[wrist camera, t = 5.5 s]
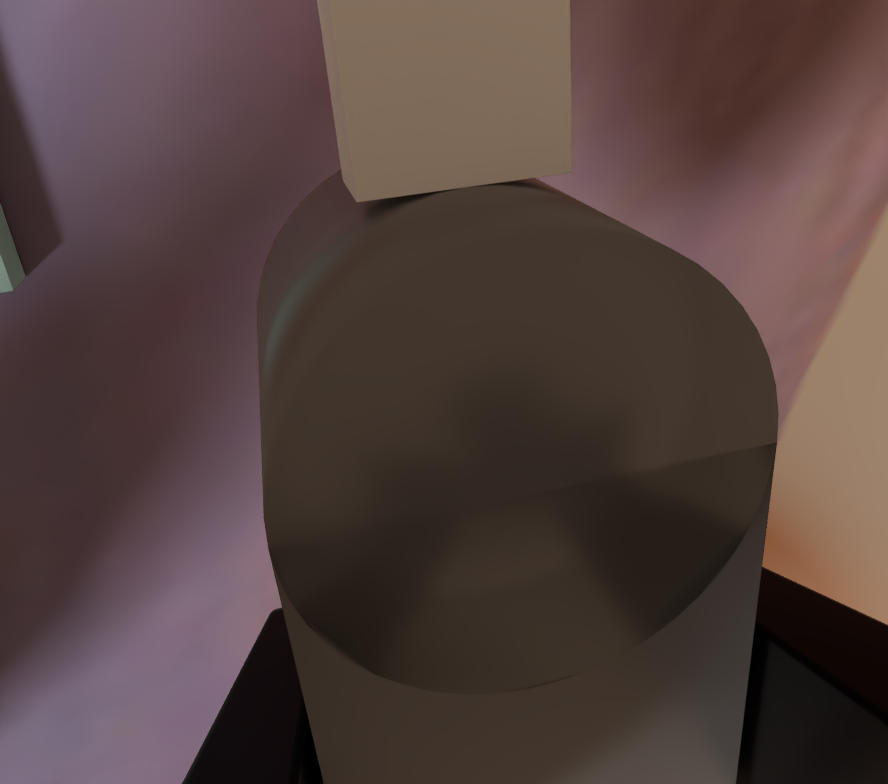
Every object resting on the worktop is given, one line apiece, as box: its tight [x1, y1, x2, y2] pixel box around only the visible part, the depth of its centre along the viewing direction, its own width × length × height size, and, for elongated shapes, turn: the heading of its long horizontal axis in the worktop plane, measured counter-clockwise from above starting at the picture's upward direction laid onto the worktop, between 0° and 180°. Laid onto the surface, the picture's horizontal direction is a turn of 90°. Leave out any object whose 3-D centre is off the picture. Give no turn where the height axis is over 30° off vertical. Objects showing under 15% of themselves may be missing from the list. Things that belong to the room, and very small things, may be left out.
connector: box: [257, 0, 778, 784], centre depth 8 cm, size 12×4×4 cm, turn 5°
